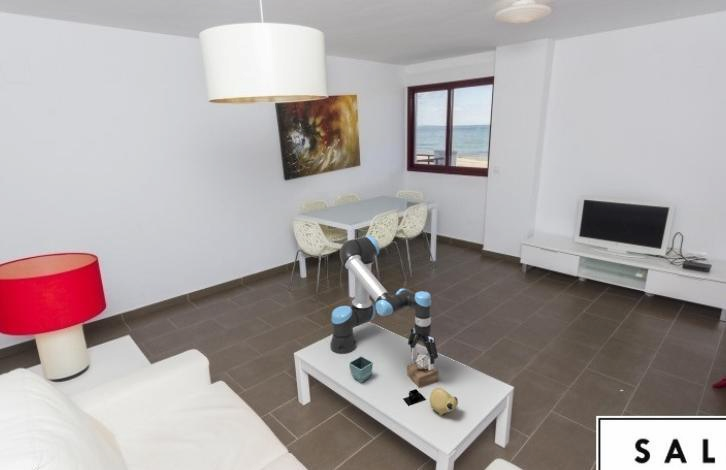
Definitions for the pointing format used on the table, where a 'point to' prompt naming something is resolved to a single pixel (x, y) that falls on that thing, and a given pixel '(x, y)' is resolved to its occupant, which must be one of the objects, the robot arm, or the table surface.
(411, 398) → the black angular block
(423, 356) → the game die
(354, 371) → the flower pot
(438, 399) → the toy pig
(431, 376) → the walnut block
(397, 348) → the table surface
